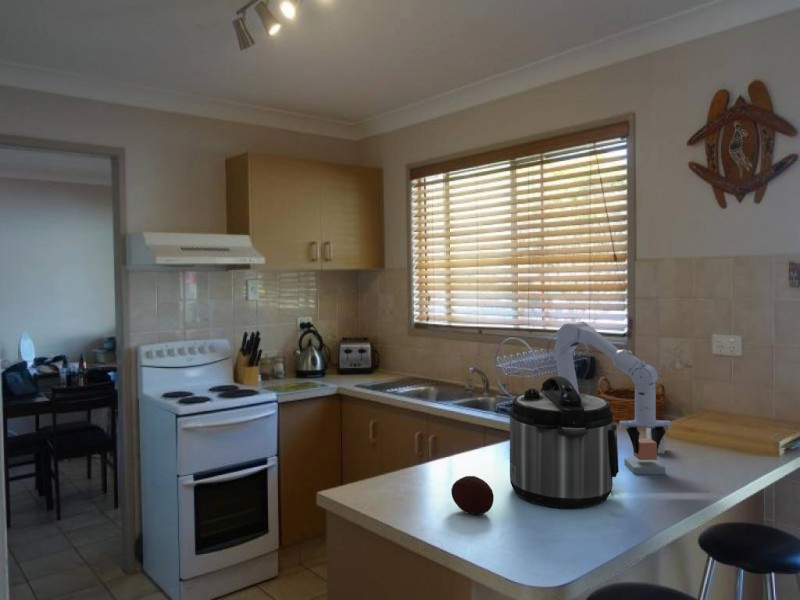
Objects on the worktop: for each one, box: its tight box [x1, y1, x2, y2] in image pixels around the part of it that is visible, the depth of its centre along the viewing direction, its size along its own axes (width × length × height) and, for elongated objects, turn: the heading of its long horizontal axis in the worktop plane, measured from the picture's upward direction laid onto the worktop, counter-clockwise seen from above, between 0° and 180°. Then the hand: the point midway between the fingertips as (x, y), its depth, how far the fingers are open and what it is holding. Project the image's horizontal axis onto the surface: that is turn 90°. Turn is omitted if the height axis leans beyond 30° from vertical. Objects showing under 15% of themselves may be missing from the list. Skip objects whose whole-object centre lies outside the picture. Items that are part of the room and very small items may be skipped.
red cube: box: [633, 438, 658, 461], centre depth 187 cm, size 5×5×5 cm
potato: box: [450, 475, 495, 515], centre depth 158 cm, size 9×12×9 cm
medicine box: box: [645, 428, 666, 454], centre depth 208 cm, size 8×4×9 cm, turn 168°
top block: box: [623, 458, 666, 475], centre depth 187 cm, size 9×9×2 cm
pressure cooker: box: [509, 375, 620, 509], centre depth 171 cm, size 30×28×32 cm
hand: (645, 452), depth 187 cm, fingers closed on red cube, 5 cm apart
